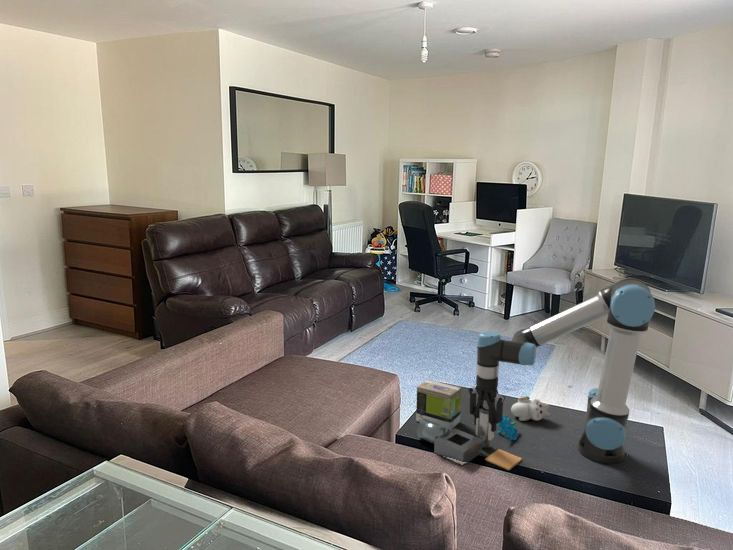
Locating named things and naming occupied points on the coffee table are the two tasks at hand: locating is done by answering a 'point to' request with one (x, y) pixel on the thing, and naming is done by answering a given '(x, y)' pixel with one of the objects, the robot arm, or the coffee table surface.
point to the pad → (503, 459)
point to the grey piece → (450, 441)
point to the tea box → (439, 403)
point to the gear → (508, 428)
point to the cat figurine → (530, 409)
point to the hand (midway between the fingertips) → (484, 436)
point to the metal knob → (484, 425)
